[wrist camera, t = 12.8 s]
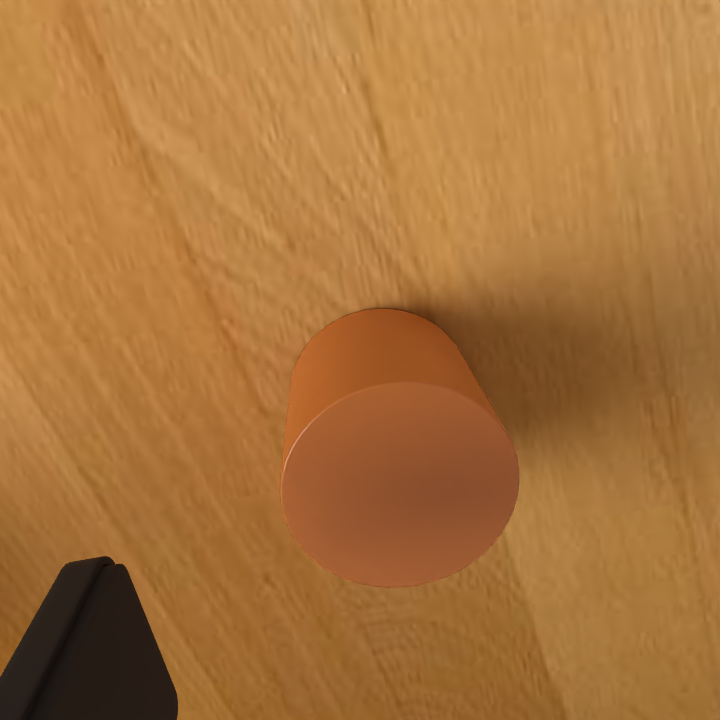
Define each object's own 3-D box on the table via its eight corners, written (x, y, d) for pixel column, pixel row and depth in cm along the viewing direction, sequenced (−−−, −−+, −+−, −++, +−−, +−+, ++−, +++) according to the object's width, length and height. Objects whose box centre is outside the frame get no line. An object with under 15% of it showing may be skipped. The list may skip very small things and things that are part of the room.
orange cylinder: (271, 327, 15) (254, 408, 11) (457, 292, 15) (509, 360, 11) (310, 485, 17) (307, 606, 13) (477, 454, 17) (528, 565, 13)
